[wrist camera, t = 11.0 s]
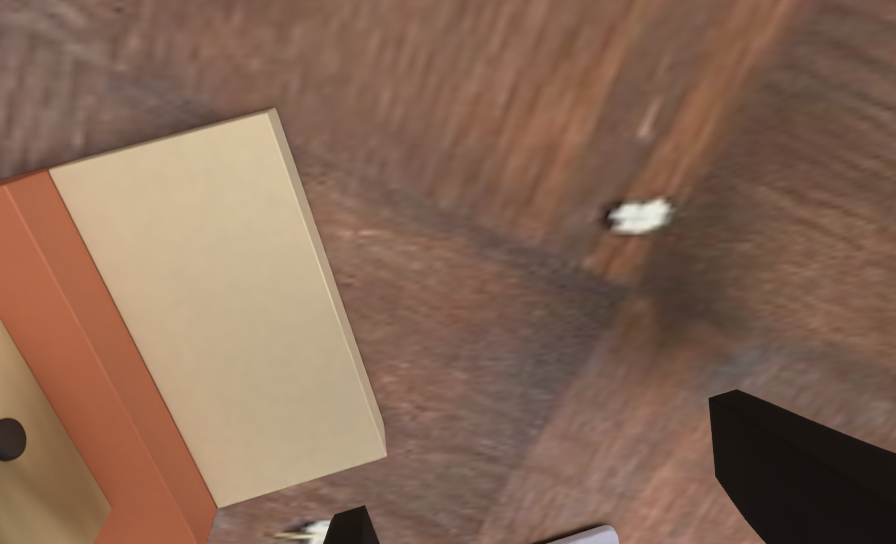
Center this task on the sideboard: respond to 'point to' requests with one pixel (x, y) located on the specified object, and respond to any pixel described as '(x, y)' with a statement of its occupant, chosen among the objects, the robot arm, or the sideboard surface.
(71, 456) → the beige block with hole
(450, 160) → the sideboard surface
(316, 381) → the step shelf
